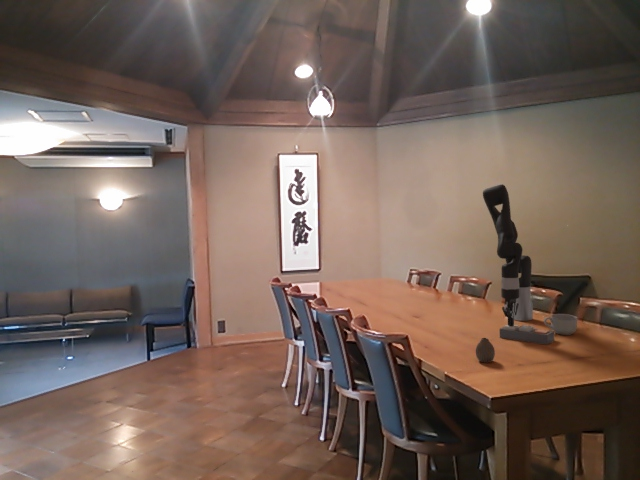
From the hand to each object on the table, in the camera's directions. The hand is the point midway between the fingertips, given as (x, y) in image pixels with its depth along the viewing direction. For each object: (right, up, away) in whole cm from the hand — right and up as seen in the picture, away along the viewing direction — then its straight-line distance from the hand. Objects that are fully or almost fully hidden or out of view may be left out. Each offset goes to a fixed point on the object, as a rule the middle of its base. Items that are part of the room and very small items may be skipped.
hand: (510, 325), depth 216 cm
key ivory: (0, -3, 0) cm, 3 cm away
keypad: (+5, -5, -4) cm, 8 cm away
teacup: (+24, -4, +3) cm, 24 cm away
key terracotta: (+10, -3, -9) cm, 14 cm away
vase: (-23, -8, -33) cm, 41 cm away
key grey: (+5, -2, -4) cm, 7 cm away
